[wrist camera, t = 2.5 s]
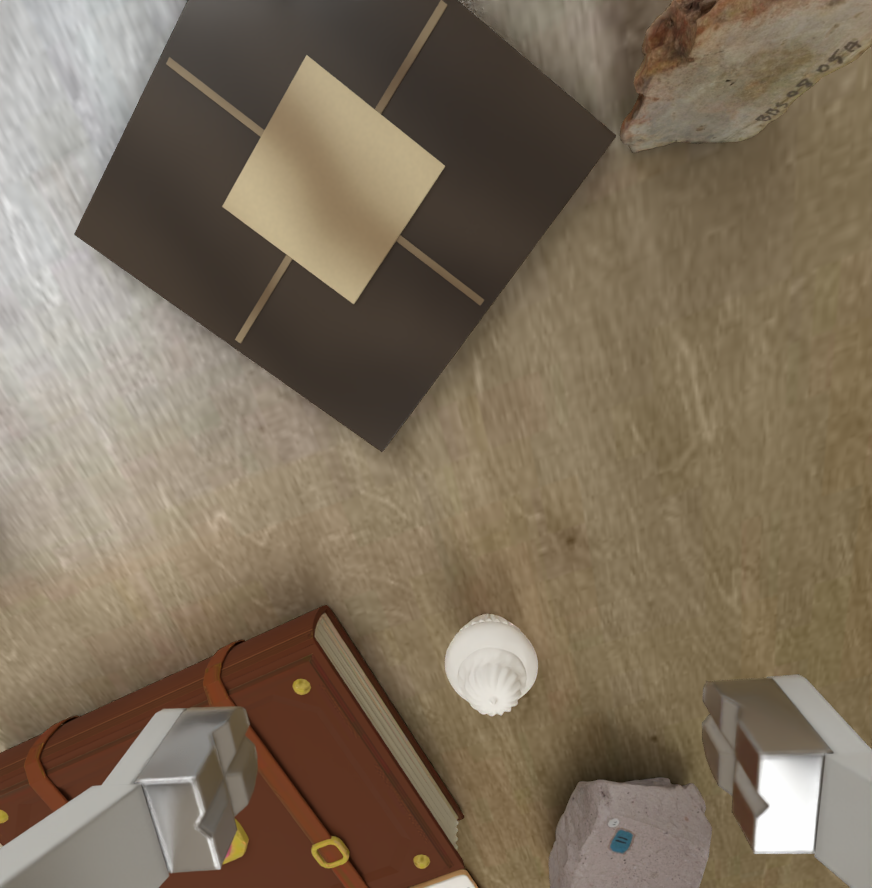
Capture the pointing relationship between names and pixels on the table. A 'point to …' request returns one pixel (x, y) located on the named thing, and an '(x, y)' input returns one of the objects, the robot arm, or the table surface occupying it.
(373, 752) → the book
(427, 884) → the cell phone
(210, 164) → the board
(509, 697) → the muffin
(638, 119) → the rock
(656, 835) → the decorative stone
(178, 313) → the table surface
